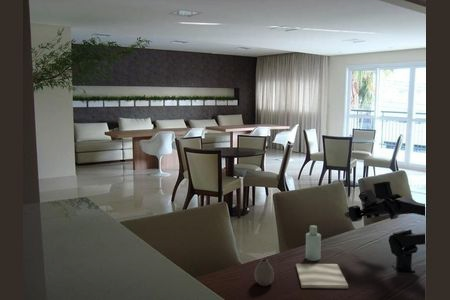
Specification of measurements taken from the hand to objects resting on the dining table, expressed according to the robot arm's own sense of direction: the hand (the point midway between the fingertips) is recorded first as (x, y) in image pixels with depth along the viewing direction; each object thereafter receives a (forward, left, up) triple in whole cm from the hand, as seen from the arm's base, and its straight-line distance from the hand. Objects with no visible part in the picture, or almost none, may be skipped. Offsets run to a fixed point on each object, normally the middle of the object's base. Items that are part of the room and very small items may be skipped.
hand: (352, 213), depth 175 cm
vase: (-35, +40, -16) cm, 56 cm away
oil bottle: (-11, +19, -16) cm, 27 cm away
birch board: (-29, +19, -16) cm, 38 cm away
